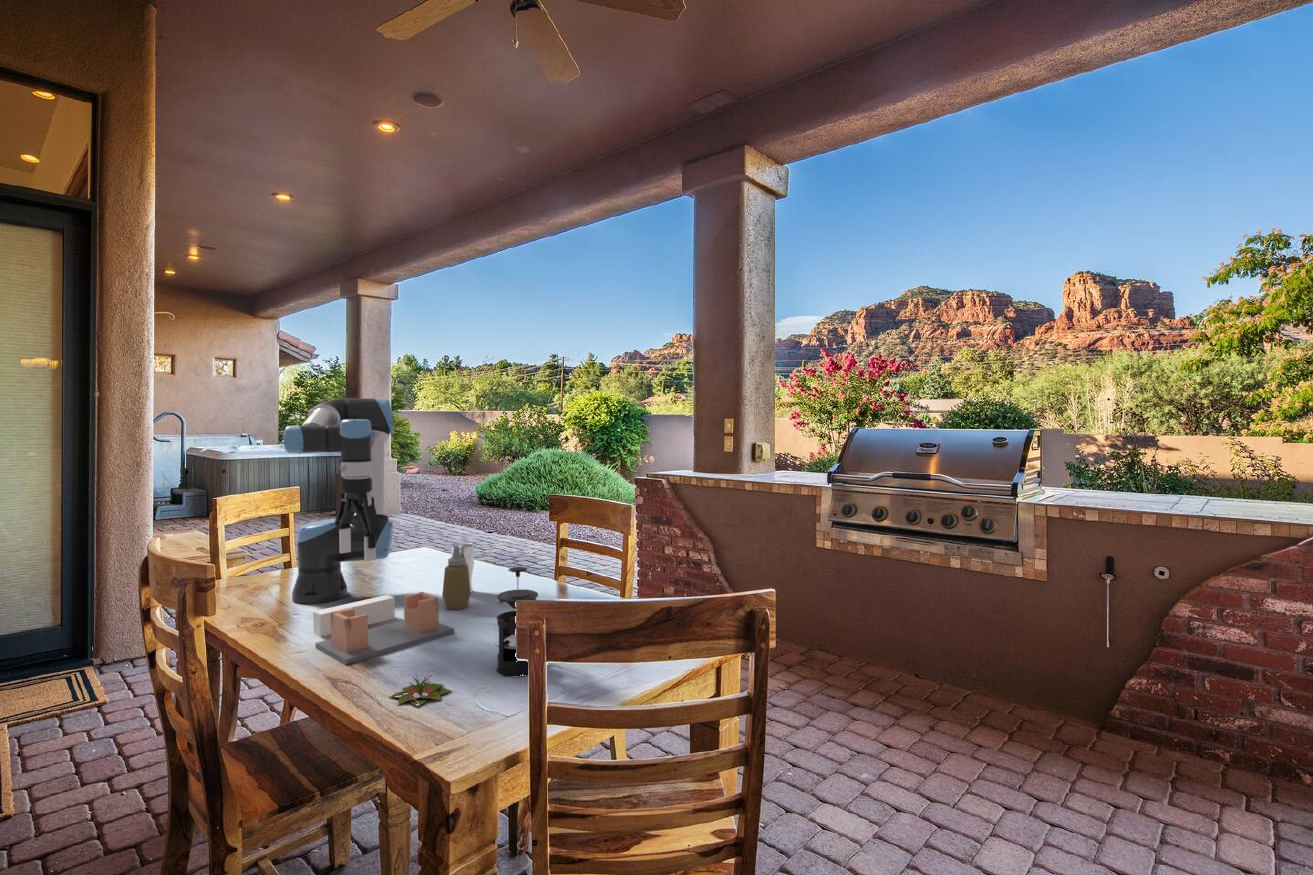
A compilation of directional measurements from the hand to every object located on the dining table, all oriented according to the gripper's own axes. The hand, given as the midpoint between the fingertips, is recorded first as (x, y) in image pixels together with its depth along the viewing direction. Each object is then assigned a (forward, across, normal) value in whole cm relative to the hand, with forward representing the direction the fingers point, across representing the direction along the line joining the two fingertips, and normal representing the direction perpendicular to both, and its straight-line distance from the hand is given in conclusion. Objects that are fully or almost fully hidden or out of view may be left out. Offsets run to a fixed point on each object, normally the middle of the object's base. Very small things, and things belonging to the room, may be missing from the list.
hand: (357, 556), depth 175 cm
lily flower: (+19, +52, -13) cm, 56 cm away
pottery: (+19, +38, +24) cm, 49 cm away
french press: (+18, +56, +9) cm, 60 cm away
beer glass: (+19, -5, +36) cm, 41 cm away
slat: (+19, 0, -1) cm, 19 cm away
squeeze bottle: (+19, +6, +26) cm, 33 cm away
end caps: (+18, +17, -1) cm, 25 cm away
